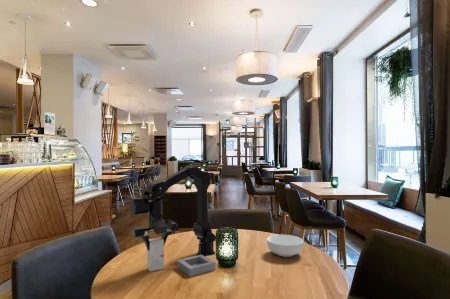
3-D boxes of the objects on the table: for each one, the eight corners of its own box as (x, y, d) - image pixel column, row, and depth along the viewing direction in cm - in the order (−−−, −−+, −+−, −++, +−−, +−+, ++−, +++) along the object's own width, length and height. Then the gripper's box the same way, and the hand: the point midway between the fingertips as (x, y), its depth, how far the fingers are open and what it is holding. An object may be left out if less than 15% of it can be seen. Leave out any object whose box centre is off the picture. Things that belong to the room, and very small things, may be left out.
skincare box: (150, 272, 118) (150, 242, 118) (146, 268, 121) (146, 239, 122) (164, 268, 121) (164, 239, 121) (160, 265, 125) (160, 237, 125)
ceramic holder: (201, 261, 129) (201, 254, 129) (215, 269, 119) (215, 262, 119) (177, 267, 122) (177, 260, 122) (189, 276, 112) (189, 269, 112)
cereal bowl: (263, 257, 132) (263, 242, 132) (271, 247, 148) (271, 233, 148) (301, 262, 126) (300, 246, 126) (305, 250, 141) (305, 236, 142)
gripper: (139, 218, 110) (139, 259, 110) (183, 212, 120) (184, 250, 120) (130, 213, 119) (131, 251, 119) (172, 208, 129) (173, 243, 129)
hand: (155, 249), depth 121 cm, fingers closed on skincare box, 6 cm apart
